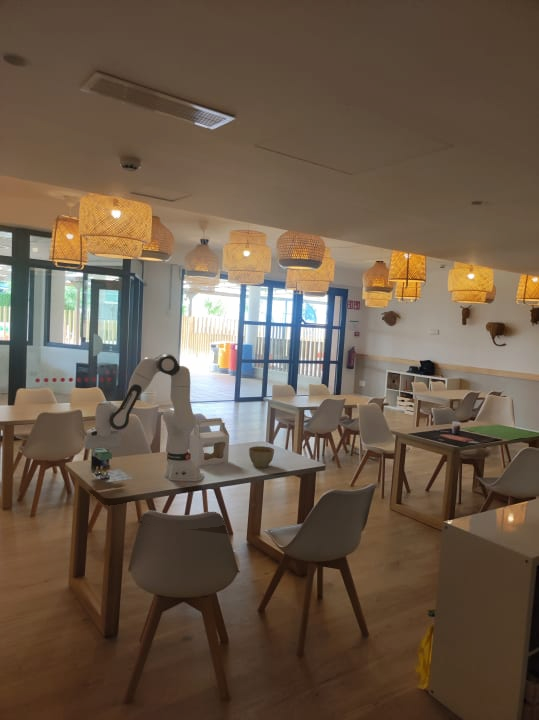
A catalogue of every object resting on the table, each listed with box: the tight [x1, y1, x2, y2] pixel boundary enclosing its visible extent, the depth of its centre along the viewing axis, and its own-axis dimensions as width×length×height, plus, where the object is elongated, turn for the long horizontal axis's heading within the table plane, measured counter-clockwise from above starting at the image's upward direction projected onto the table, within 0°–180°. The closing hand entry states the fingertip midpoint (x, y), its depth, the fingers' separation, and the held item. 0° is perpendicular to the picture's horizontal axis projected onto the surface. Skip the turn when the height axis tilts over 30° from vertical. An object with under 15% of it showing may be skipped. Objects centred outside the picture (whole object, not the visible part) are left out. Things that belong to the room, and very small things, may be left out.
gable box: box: [188, 417, 230, 467], centre depth 331 cm, size 22×13×28 cm, turn 125°
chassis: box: [90, 466, 133, 484], centre depth 289 cm, size 20×17×6 cm
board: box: [91, 448, 113, 460], centre depth 287 cm, size 14×6×3 cm, turn 37°
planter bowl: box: [248, 445, 275, 469], centre depth 328 cm, size 16×16×11 cm
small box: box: [90, 448, 110, 470], centre depth 306 cm, size 11×6×10 cm, turn 168°
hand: (101, 455), depth 287 cm, fingers closed on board, 6 cm apart
